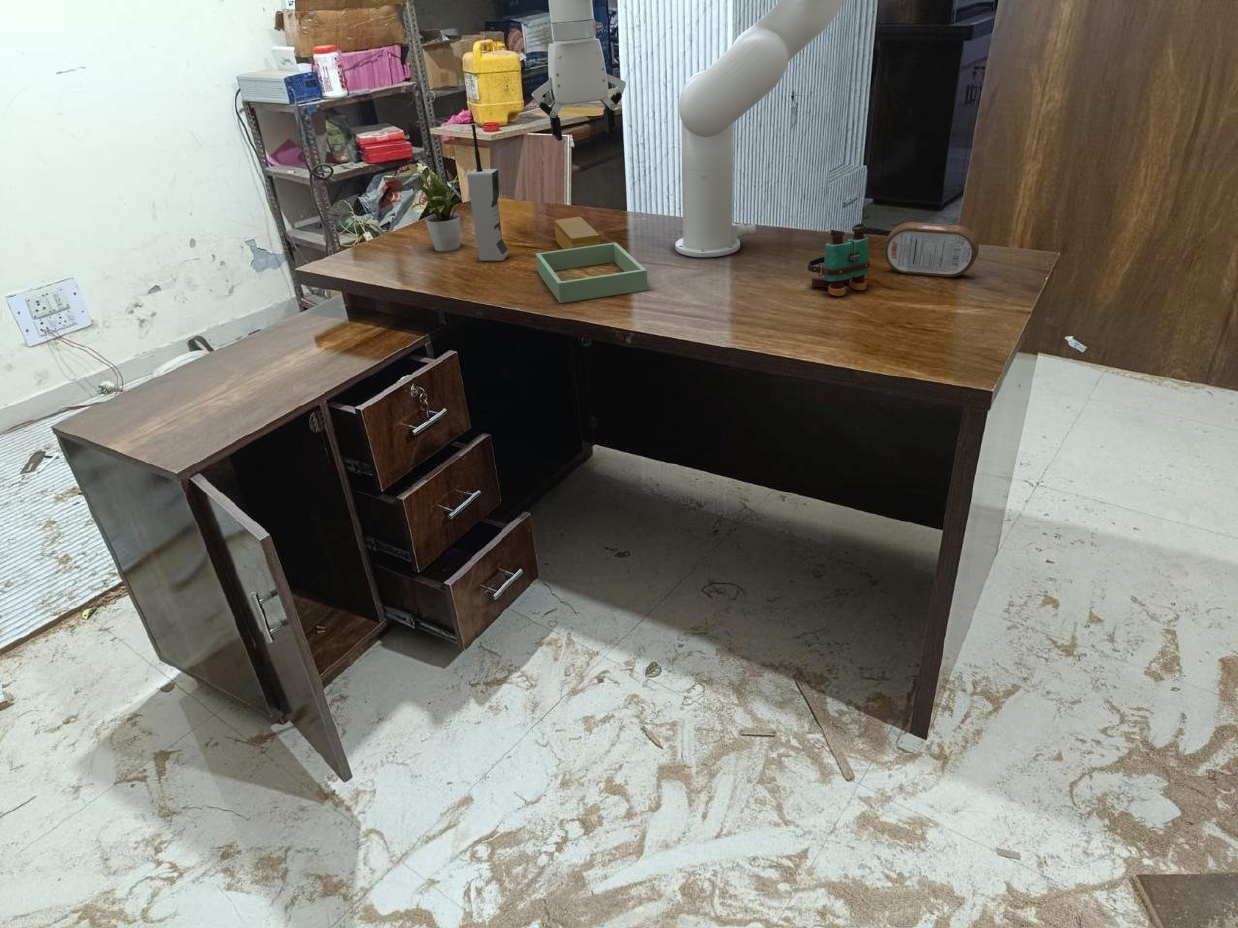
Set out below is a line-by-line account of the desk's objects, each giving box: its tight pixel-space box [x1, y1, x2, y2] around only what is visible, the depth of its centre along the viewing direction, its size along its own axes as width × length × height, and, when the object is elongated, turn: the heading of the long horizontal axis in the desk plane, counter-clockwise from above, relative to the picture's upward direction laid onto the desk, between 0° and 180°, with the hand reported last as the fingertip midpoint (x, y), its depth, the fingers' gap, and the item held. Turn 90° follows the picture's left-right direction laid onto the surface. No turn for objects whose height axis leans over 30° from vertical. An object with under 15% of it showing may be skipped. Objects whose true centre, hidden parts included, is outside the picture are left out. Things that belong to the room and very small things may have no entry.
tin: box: [883, 221, 980, 278], centre depth 142 cm, size 15×3×8 cm, turn 65°
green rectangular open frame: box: [535, 241, 649, 304], centre depth 150 cm, size 16×19×4 cm
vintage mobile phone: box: [466, 123, 509, 262], centre depth 159 cm, size 4×5×25 cm
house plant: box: [402, 166, 470, 252], centre depth 170 cm, size 14×14×16 cm
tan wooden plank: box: [553, 216, 601, 250], centre depth 167 cm, size 6×15×4 cm, turn 17°
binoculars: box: [807, 222, 871, 297], centre depth 138 cm, size 9×11×10 cm
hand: (584, 136), depth 155 cm, fingers open, 9 cm apart
